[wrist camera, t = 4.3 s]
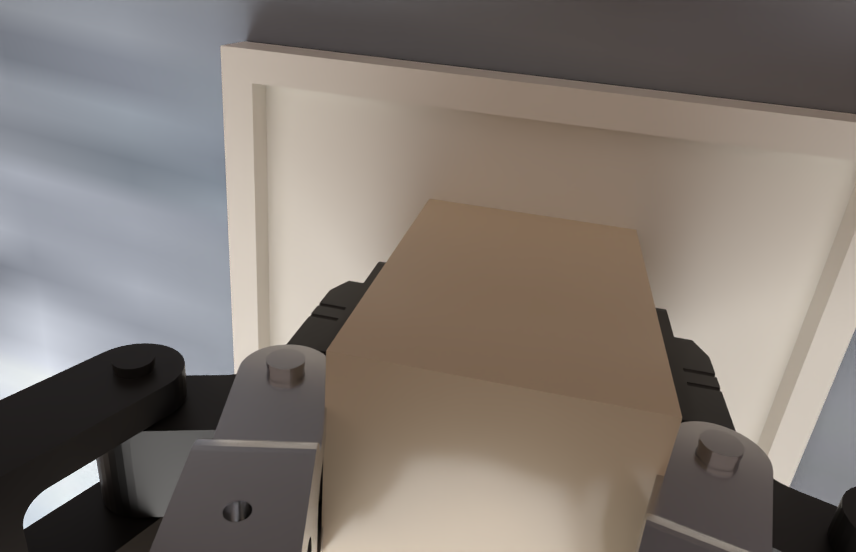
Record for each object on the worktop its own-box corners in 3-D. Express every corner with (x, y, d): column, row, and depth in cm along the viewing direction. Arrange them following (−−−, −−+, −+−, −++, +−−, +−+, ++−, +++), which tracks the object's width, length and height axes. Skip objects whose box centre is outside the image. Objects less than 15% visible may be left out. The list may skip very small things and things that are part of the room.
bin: (907, 119, 11) (937, 132, 10) (666, 732, 18) (670, 771, 17) (245, 41, 13) (220, 45, 12) (261, 628, 20) (246, 658, 19)
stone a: (636, 229, 12) (681, 417, 7) (595, 403, 14) (606, 662, 9) (429, 198, 13) (326, 351, 8) (413, 369, 15) (319, 592, 9)
